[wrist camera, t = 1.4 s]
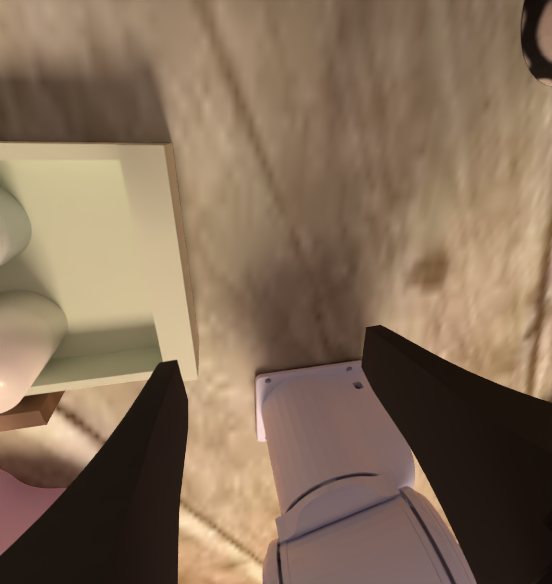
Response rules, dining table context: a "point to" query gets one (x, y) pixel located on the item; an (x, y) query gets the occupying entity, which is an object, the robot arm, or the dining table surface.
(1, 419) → the rack
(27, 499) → the clip
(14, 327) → the pale pink cylinder
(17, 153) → the tray
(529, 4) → the spotted tube
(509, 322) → the dining table surface
